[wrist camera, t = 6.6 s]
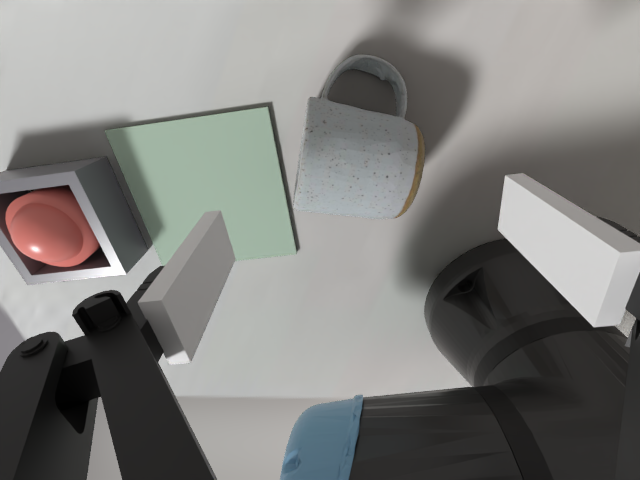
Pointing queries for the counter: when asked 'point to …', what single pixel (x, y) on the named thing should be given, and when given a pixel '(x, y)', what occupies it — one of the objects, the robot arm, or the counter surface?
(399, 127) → the ceramic mug
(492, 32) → the counter surface
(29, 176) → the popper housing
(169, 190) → the sage square
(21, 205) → the red dome
